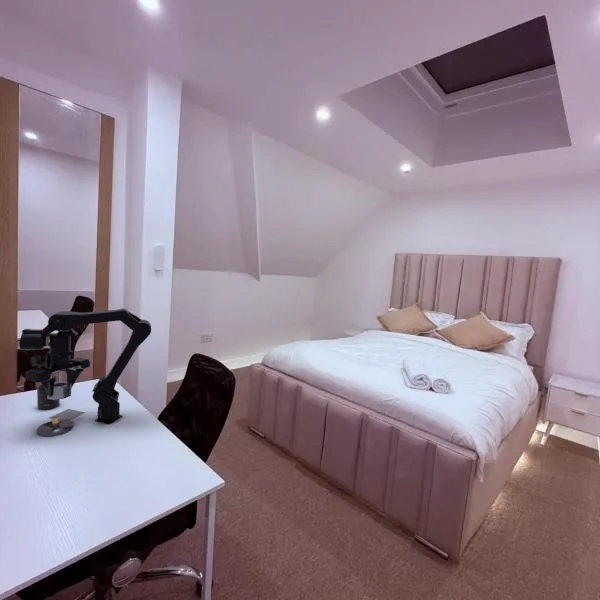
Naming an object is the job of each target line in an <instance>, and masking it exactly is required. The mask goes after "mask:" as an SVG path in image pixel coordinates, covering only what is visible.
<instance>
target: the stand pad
mask: <svg viewBox="0 0 600 600" xmlns="http://www.w3.org/2000/svg"><path fill="white" fill-rule="evenodd" d="M86 413H87V412H85V411H80V410H76V409H70V408H66V409H64V410H63V411H61V412H58V413H56V414H54V415H52V416H50V417H48V419H51V420H52V418H54V417H60V420H71V421H72V420H73V419H76V418H78V417H80V416H82V415H84V414H86Z"/></svg>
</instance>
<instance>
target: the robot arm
mask: <svg viewBox="0 0 600 600" xmlns="http://www.w3.org/2000/svg"><path fill="white" fill-rule="evenodd" d="M117 321H118V322H119V321H120V322H121V323H123V324H124V325H125V326H126V327H128V329H130V330H131V334H130V337H129V339H128V341H127V342H126V344H125V346H124V348H123V349H122V351H121V353H120V355H118V357H117V359H116V361H115V362H114V364H113V366H112V367H111V369H110V370H109V372H108V373H107V374H106V375H105V376H102V375H100V377H99V379H98V381H97V382H96V383H95V384H94V385H93V388H92V392H93V394H92V398H93V401H94V402H96V403H97V404H98V406H97V418H96V419H94V422H97V423H100V424H106V425H111V424H113V423H114V422H117V421H118V420H120V419H122V418H123V415H122V414H120V408H121V406H120V402H119V397H120V392H119V391H118V390H116V389H115V388H116V384H117V382H118V380H119V378H120V377H121V375H122V373H123V372H124V370H125V368H126V367H127V365H128V363H129V362H130V361H131V359H132V358H133V356H134V354H135V353H136V351H137V349H138V348H139V347H140V346H141V345H142V344H143V343H144V342H145V341H146V339H148V338H149V336H151V333H152V325H151V322H150V321H148V320H147V319H142V318H140V317H139V316H137V315H135V314H134V313H132V312H130V311H129V310H128V309H127V308H120V309H109V310H101V311H100V310H99V311H90V312H89V311H88V312H77V311H65V310H63V311H57V312H55V313H54V314H52V315H51V316H50V317H49V318H48V321H47V325H46V326H45V327H44V328H42V329H34V328H33V329H32V328H24V329H23V330H22V331H21V335H20V340H19V341H18V346H19V350H21V351H37V350H44V349H45V347H48V346H49V351H47V352H46V353H45V356H41V355H34V356H32V357H30V364H31V366H32V367H36V366H37V368H34V369H30V370H27V371H26V373H25V375H24V379H25V381H30V382H34V383H40V382H41V383H42V385H43V387H44V388H45V391H46V393H47V395H48V396H49V397H52V394H53V390H54V384H55V378H52V375H53V374H54V375H55V374H57V373H60V372H63V371H65V373H66V381H68V382H72V388H73V386H75V383H76V381H77V380H78V378H79V377H80V375H81V374H82V372H84V371H85V370H84V369H87V368H90V367H91V361H90V360H89V358H84V357H75V358H71V356H72V355H74V351H73V350H72V348H71V343H72V341H71V337H76V336H78V334H79V332H77V331H76V330H74V328H75V327H79V326H82V325H90V324H101V323H108V322H109V323H110V322H117ZM42 367H44V368H42ZM45 368H46V369H45ZM41 383H40V384H41Z"/></svg>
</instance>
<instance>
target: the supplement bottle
mask: <svg viewBox="0 0 600 600" xmlns="http://www.w3.org/2000/svg"><path fill="white" fill-rule="evenodd" d="M52 378H55V382H58V381H57V376H56V375H55V374H54V375H53V374H52ZM39 383H40V384H39V385H37V387H36V397H37V398H36V399H37V402H36V403H37V404H36V405H37V409H38V410H39V411H49V410H53V409H54V410H55V409H56V408H58V407H60V403H61V402H60V401H61V399H58V400H51V399H47V393H46V391H45V388H44V387H43V385H42V383H41V382H39Z"/></svg>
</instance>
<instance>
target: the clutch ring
mask: <svg viewBox="0 0 600 600" xmlns="http://www.w3.org/2000/svg"><path fill="white" fill-rule="evenodd" d="M72 388H73V387H72V382H68V381H67V380H63V381H61V380H60V381H56V382H55V384H54V390H53V394H52V397H49V396H48V395H47V399H51V400H58V399H60V400H64V399H67V398H69V397H72Z"/></svg>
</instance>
